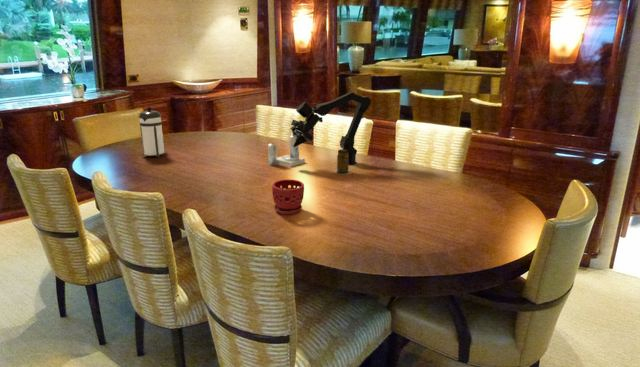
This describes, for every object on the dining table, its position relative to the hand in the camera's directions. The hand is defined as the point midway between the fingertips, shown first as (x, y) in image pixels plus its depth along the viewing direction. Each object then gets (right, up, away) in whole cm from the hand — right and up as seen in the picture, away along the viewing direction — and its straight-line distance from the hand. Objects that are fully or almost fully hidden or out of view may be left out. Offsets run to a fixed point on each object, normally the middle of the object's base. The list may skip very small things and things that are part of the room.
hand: (291, 145), depth 252 cm
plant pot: (+2, -32, -57) cm, 65 cm away
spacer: (-12, -10, +13) cm, 20 cm away
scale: (-3, -8, +17) cm, 19 cm away
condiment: (+28, -15, -2) cm, 31 cm away
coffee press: (-86, -3, +34) cm, 93 cm away
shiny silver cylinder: (+1, -6, +3) cm, 7 cm away
